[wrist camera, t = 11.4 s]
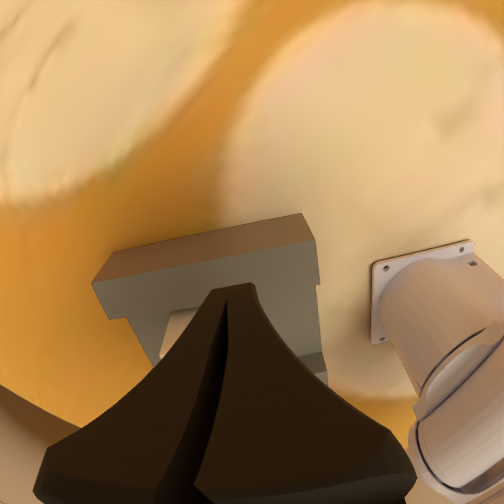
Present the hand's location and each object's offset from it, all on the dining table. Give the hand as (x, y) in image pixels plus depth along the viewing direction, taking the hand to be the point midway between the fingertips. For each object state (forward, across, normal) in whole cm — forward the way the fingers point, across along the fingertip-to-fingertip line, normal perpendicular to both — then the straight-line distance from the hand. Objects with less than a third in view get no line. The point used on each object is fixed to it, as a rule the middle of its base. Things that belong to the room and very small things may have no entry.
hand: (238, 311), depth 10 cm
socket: (+10, +3, +8) cm, 13 cm away
